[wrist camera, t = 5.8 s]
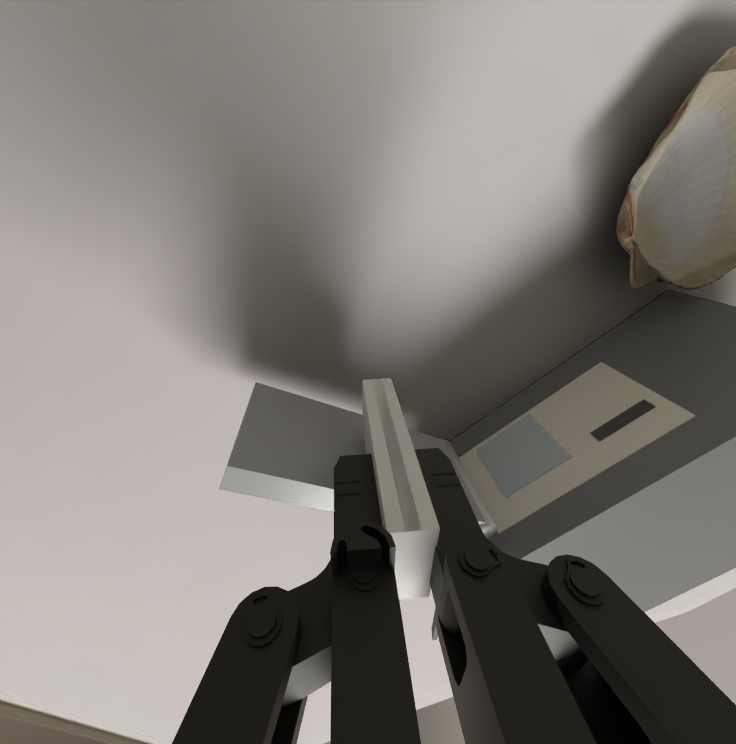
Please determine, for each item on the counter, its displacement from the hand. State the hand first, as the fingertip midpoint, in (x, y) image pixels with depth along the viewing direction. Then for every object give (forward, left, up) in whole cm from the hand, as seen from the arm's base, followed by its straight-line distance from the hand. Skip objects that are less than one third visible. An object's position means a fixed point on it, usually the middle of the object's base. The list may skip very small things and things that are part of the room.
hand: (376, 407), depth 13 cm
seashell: (+2, +15, -3) cm, 16 cm away
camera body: (+12, +7, -3) cm, 14 cm away
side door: (+1, -2, -2) cm, 3 cm away
